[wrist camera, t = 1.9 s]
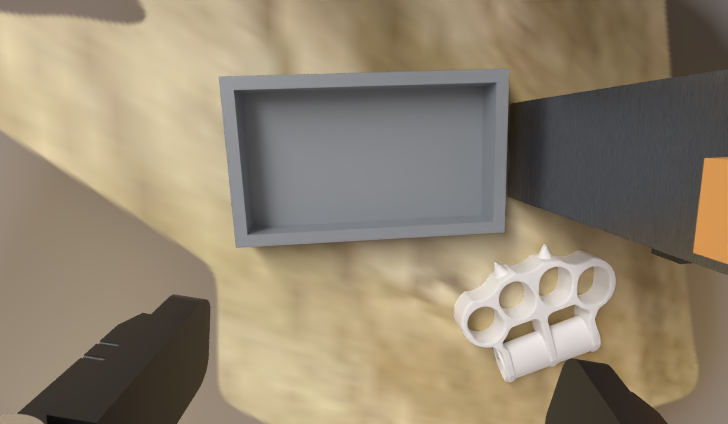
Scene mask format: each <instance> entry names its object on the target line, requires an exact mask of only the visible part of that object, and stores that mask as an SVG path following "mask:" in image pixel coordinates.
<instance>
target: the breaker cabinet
mask: <svg viewBox="0 0 728 424" xmlns="http://www.w3.org/2000/svg"><path fill="white" fill-rule="evenodd" d="M717 157H728V69H723V70H717V71H711V72H704V73H698V74H692V75H686V76H679V77H673V78H667V79H661V80H654V81H648V82H642V83H636V84H630V85H623V86H617V87H611V88H605V89H598V90H592V91H586V92H580V93H573V94H567V95H561V96H555V97H549V98H542V99H536V100H530V101H524V102H517V103H511V108H510V142H509V175H508V197H510V198H513V199H516V200H519V201H522V202H524V203H527V204H530V205H533V206H536V207H538V208H541V209H544V210H547V211H550V212H552V213H555V214H558V215H561V216H563V217H566V218H569V219H572V220H575V221H577V222H580V223H583V224H586V225H589V226H591V227H594V228H597V229H600V230H603V231H605V232H608V233H611V234H614V235H617V236H619V237H622V238H625V239H628V240H631V241H633V242H636V243H639V244H642V245H645V246H647V247H650V248H652V254H655V255H658V256H660V257H663V258H666V259H668V260H671V261H674V262H676V263H679V264H687V263H695V264H698V265H701V266H703V267H706V268H709V269H712V270H714V271H717V272H720V273H723V274H726V275H728V264H726V263H723V262H720V261H717V260H714V259H711V258H708V257H705V256H702V255H699V254H695V253H693V249H694V240H695V232H696V224H697V216H698V207H699V199H700V191H701V182H702V174H703V166H704V158H717Z"/></svg>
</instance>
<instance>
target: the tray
mask: <svg viewBox="0 0 728 424" xmlns="http://www.w3.org/2000/svg"><path fill="white" fill-rule="evenodd" d="M219 83H220V93H221V103H222V113H223V123H224V133H225V143H226V153H227V163H228V173H229V183H230V193H231V203H232V213H233V223H234V233H235V243H236V248H242V247H259V246H276V245H294V244H311V243H329V242H346V241H364V240H381V239H398V238H416V237H433V236H451V235H468V234H485V233H503V232H505V200H506V165H507V131H508V97H509V69H484V70H447V71H410V72H373V73H336V74H299V75H262V76H225V77H219Z"/></svg>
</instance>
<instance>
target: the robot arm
mask: <svg viewBox="0 0 728 424" xmlns="http://www.w3.org/2000/svg"><path fill="white" fill-rule="evenodd" d="M209 332H210V303H209V301H208V300H206V299H200V298H193V297H187V296H180V295H172V296H170V297H169V298H168V299H167V300H166V301H165V302H164V303H162V304H161V305H160V307H158V308H157V309H156V310H155V311H154V312H153V313H152V314H146V313H142V314H140V315H137V316H135V317H133V318H131V319H129V320H127V321H125V322H123V323H121V324H119V325H117V326H116V327H115V328H114V329H113V330H112V331H111V332H110V333H108V334H107V335H106V336H105V337H104V338H103V339H101V340H100V343H99V344H96V345H95V346H93V347H92V348H91V349H90V350H89V351H88V352H87V353H85V354H84V357H83V358H80V359H79V360H78V361H76V362H75V363H74V364H73V365H72V366H71V367H70V368H68V369H67V370H66V371H65V372H64V373H63V374H62V375H61V376H59V377H58V378H57V379H56V380H55V381H54V382H53V383H51V384H50V385H49V386H48V387H47V388H46V389H45V390H43V391H42V392H41V393H40V394H39V395H38V396H37V397H36V398H34V399H33V400H32V401H31V402H30V403H29V404H28V405H26V406H25V407H24V408H23V409H22V410H21V411H20V412H18V413H17V414H9V415H0V424H177V423H178V421H179V420H180V418H181V416H182V415H183V413H184V411H185V410H186V408H187V407H188V405H189V404H190V402H191V401H192V399H193V397H194V396H195V394H196V392H197V391H198V389H199V388H200V386H201V384H202V382H203V379H204V376H205V373H206V369H207V364H208V357H209ZM545 424H667V422H666V421H665V420H664V419H663V418H662V416H661V415H660V414H659V413H658V412H657V411H656V410H655V409H653V408H652V407H651V406H650V405H648V404H647V403H646V402H645V401H643V400H642V399H641V398H640V397H638V396H637V395H636V394H635V393H633V392H630V390H629V389H628V388H627V387H626V385H625V384H624V383H623V382H622V380H621V379H620V378H619V377H618V375H617V374H616V373H615V371H614V370H613V369H612V368H611V367H610V366H609V365H607V364H604V363H597V362H591V361H585V360H578V359H568V360H567V361H566V362H565V363H564V365H563V368H562V370H561V373H560V376H559V379H558V382H557V385H556V388H555V391H554V394H553V397H552V400H551V403H550V406H549V408H548V411H547V415H546V422H545Z"/></svg>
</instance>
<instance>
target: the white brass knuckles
mask: <svg viewBox="0 0 728 424" xmlns="http://www.w3.org/2000/svg"><path fill="white" fill-rule="evenodd" d="M553 267H557V268H558V282H557V285H556V287H555V289H554V290H553V291H552V292H551V293H549V294H547V295H544V296H539V282H540V279H541V277H542V275H543V274H544V273H545V272H546V271H547V270H548V269H550V268H553ZM590 267H593V268H594V279H593V284H592V286H591V287H590V289H589V290H588V291H587V292H585V293H583V294H581V295H577V284H578V279H579V277H580V275H581V274H582V273H583V272H584V271H585V270H586V269H588V268H590ZM494 268H495V271H494V272H492V273H491V274H490V275H489V277H488V279H487V280H486V281H485V282H484V283H483V284H482V285H481V286H480V287H478V288H476V289H474V290H471V291H464V292H463V293H462V294H461V295H460V297H459V298H458V300H457V302H456V304H455V308H454V317H455V321H456V323H457V325H458V326H459V328H460V329H461V331H462V332H463V334H464V335H465V337H466V338H467V339H468V340H469V341H470V342H471V343H473V344H474V345H477V346H479V347H485V348H490V347H493V350H494V355H495V358H496V361H497V364H498V367H499V369H500V372H501V374H502V376H503V378H504V380H505V381H506V382H507V381H509V382H513V381H515V379H516V378H518V377H521V376H524V375H527V374H529V373H532V372H535V371H537V370H540V369H543V368H546V367H548V366H550V367H553V366H556V364H557V363H559V362H562V361H565V360H567V359H570V358H573V357H576V356H578V355H581V354H584V353H586V352H589V351H592V352H594V351H597V350H598V348H600V345H601V340H600V335H599V332H598V329H597V326H596V322H595V317H596V314H597V312H598V310H599V308H600V307H602V306H603V305H604V304H606V303H607V302H608V300H609V299H610V298H611V296H612V294H613V292H614V290H615V286H616V277H615V273H614V271H613V269H612V267H611V266H610V265H609V264H608V263H607V262H606V261H604V260H603V259H601V258H598V257H596V256H594V255H592V254H590V253H588V252H585V251H582V250H577V251H575V252H574V253H572V254H570V255H567V256H554V255H551V253H550V252H549V250H548V248H547V246H546V245H545V243H544V245H543V247H542V248H541V250H540V252H539V254H531V255H530V256H529V257H528V258H527V259H526V260H524V261H522V262H520V263H518V264H513V265H507V264H504V265H500V264H498V263H496V262H495V261H494ZM512 282H520V283H521V284H522V286H523V289H524V295H523V298H522V300H521V301H520V302H519V303H518V304H517V305H516V306H514V307H512V308H502V307H501V306H500V304H499V295H500V292H501V291H502V289H503V288H504V287H505V286H506V285H508V284H509V283H512ZM572 305H575V308H574V315H575V317H572V318H570V319H567V320H564V321H562V322H559V323H556V324H553V325H551V326H549V324H548V317H549V315H550V314H551V313H553V312H555V311H558V310H561V309H563V308H566V307H569V306H572ZM481 307H491V308H492V309H493V311H494V320H493V322H492V324H491V325H490V326H489V327H488V328H487V329H485V330H483V331H472V330H470V329H469V328H468V325H467V323H468V319H469V316H470V315H471V313H472V312H473V311H475V310H476V309H478V308H481ZM528 321H532V324H533V328H534V332H532V333H529V334H526V335H524V336H521V337H518V338H515V339H513V340H510V341H507V342H505V343H503V341H504V340H505V338H506V337H507V335H508V333H509V330H510V329H511V328H512V327H514V326H517V325H520V324H523V323H525V322H528ZM498 356H499V357H500V359H497V357H498Z"/></svg>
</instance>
